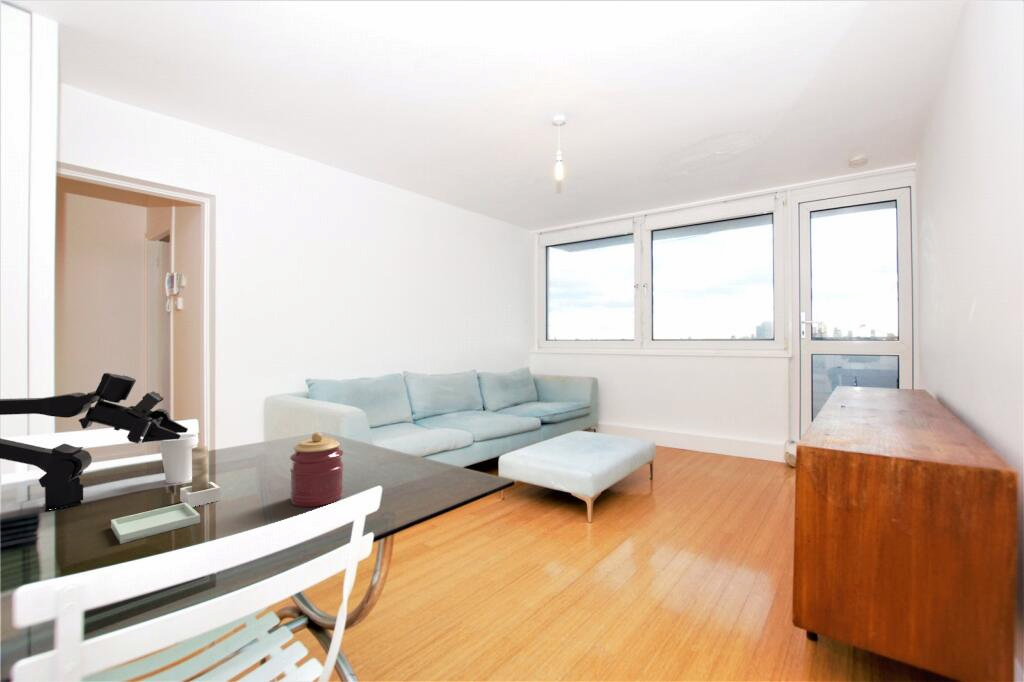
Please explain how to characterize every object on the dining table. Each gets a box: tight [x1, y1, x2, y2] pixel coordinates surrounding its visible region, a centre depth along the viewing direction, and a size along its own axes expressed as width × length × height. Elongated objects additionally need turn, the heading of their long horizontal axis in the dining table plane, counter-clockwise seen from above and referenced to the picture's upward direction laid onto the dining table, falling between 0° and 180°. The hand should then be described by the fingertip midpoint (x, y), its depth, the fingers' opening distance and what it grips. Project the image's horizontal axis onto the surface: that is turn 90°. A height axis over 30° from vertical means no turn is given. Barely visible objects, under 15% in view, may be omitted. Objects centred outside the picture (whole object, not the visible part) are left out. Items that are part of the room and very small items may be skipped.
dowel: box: [191, 445, 209, 493], centre depth 117 cm, size 4×4×14 cm
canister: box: [289, 431, 345, 508], centre depth 118 cm, size 13×13×18 cm
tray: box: [110, 502, 201, 545], centre depth 102 cm, size 14×12×2 cm
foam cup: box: [158, 433, 199, 484], centre depth 134 cm, size 10×9×13 cm
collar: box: [179, 481, 221, 508], centre depth 117 cm, size 7×7×4 cm
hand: (183, 433), depth 125 cm, fingers open, 9 cm apart
